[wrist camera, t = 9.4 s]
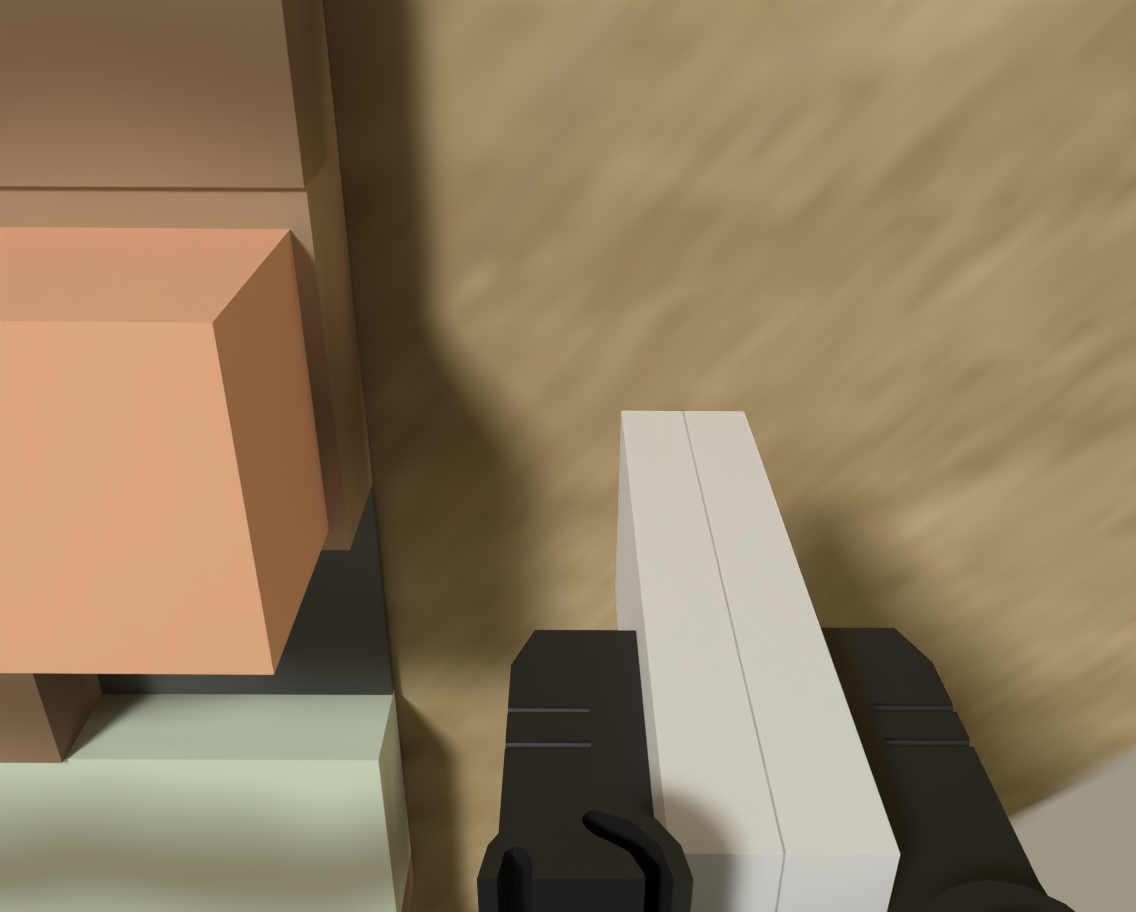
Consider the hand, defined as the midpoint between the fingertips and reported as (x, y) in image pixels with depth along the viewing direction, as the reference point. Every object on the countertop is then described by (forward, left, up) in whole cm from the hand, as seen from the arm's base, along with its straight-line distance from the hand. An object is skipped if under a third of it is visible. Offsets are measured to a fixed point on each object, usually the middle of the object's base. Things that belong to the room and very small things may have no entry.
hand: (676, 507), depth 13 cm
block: (0, -8, -3) cm, 8 cm away
